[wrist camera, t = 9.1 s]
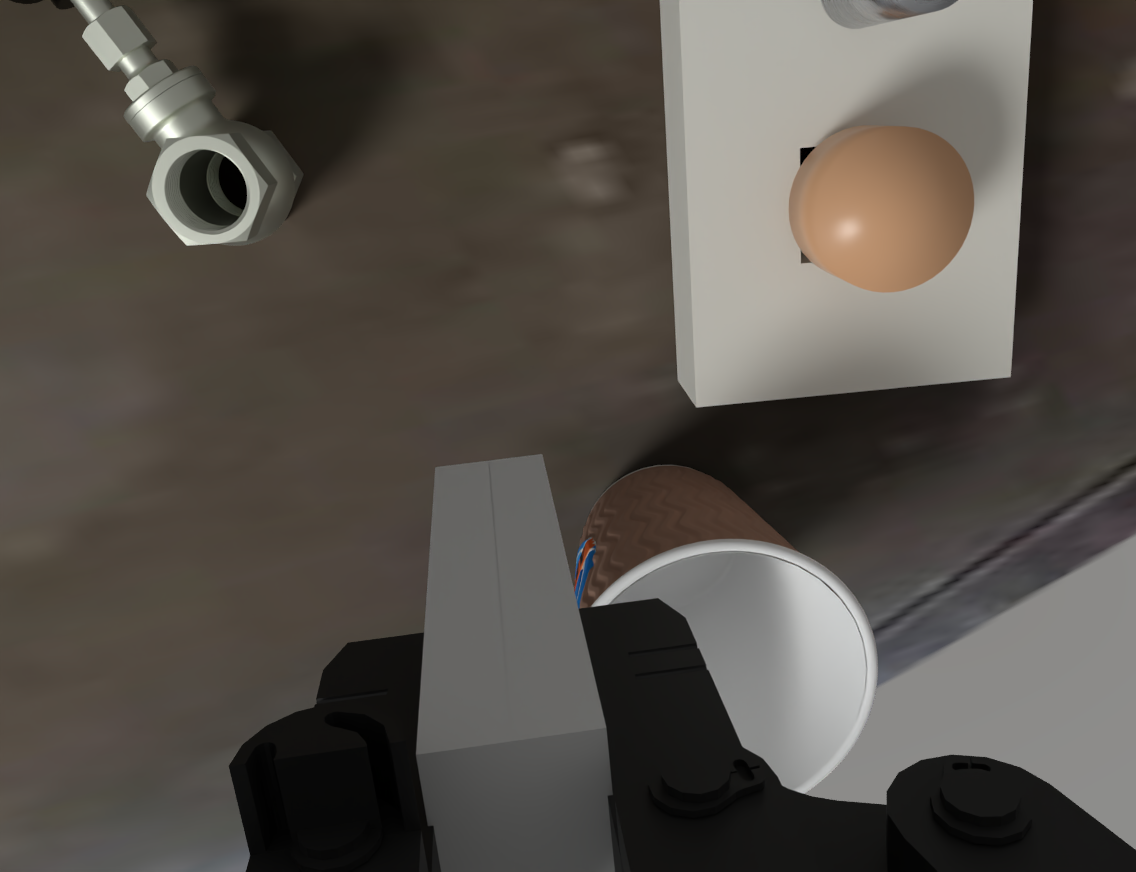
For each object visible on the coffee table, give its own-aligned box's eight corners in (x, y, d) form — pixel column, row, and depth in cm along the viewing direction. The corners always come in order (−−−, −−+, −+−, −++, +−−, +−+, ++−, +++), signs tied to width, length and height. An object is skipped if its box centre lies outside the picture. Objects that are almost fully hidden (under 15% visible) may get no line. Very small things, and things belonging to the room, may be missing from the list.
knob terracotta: (761, 267, 40) (814, 299, 33) (758, 129, 38) (814, 133, 31) (891, 255, 40) (970, 284, 33) (893, 118, 38) (978, 119, 31)
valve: (358, 174, 38) (141, -123, 35) (331, 186, 32) (64, -175, 28) (221, 273, 39) (-4, -7, 35) (169, 304, 33) (-111, -33, 29)
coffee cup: (511, 468, 42) (517, 601, 31) (747, 392, 42) (841, 498, 30) (584, 672, 45) (613, 861, 34) (803, 603, 45) (908, 771, 34)
